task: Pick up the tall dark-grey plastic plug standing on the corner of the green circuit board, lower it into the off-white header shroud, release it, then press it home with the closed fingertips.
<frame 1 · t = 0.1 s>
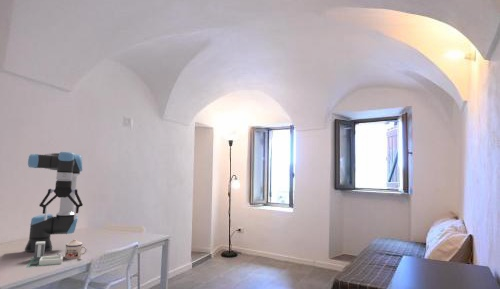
hand: (60, 219, 170), 28 cm above the table, fingers open, 13 cm apart
board: (45, 263, 182), on the table
plug: (38, 259, 185), point 1 cm above the table, touching board
teacup with lid: (75, 258, 194), on the table
header: (51, 264, 181), resting on board
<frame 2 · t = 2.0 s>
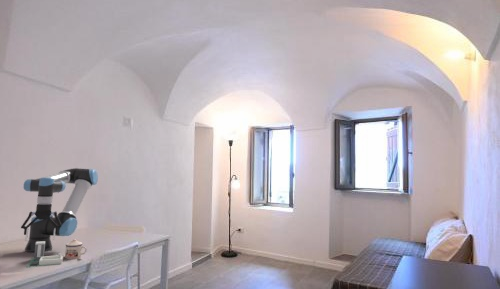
hand: (40, 240, 186), 13 cm above the table, fingers open, 13 cm apart
nothing on the table moved.
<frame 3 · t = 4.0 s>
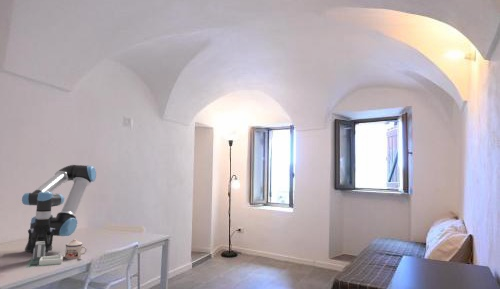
hand: (38, 258, 185), 2 cm above the table, fingers closed on plug, 4 cm apart
plug: (38, 259, 185), point 1 cm above the table, touching board, gripper
everything else where it was.
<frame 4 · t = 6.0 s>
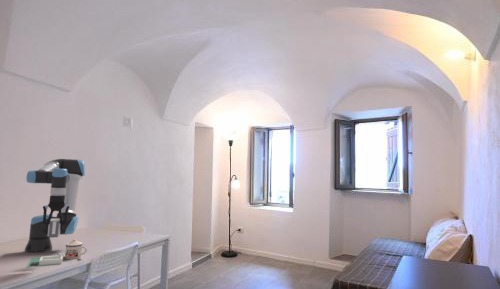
hand: (53, 235, 182), 16 cm above the table, fingers closed on plug, 4 cm apart
plug: (53, 236, 182), point 16 cm above the table, touching gripper
everything else where it was.
when the fingers open (4 cm above the table, at t = 8.0 s): plug drops 2 cm, resting on header.
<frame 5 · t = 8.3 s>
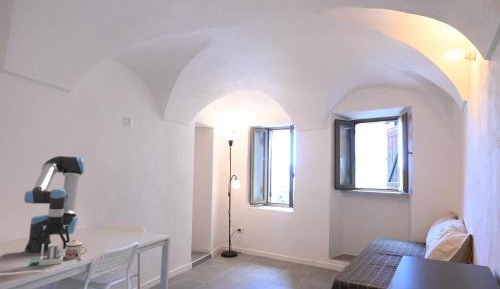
hand: (51, 255, 181), 5 cm above the table, fingers open, 9 cm apart
plug: (51, 262, 181), point 1 cm above the table, touching header
everything else where it was.
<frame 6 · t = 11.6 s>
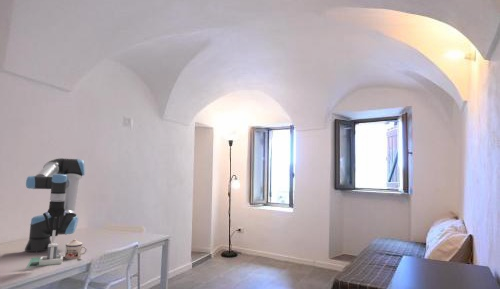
hand: (53, 241, 182), 13 cm above the table, fingers closed
nothing on the table moved.
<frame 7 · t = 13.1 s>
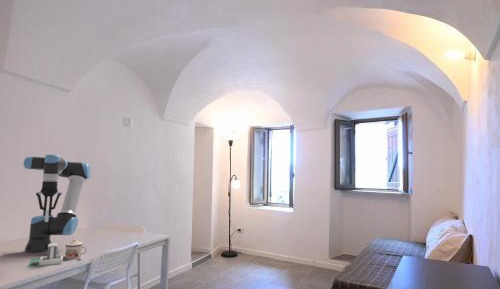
hand: (46, 221, 183), 24 cm above the table, fingers closed
nothing on the table moved.
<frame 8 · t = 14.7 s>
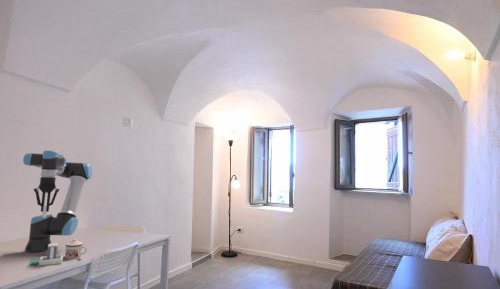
hand: (44, 217, 183), 26 cm above the table, fingers closed
nothing on the table moved.
at the end: plug 0.0 cm off-centre on the header, point 1.3 cm above the header's base; plug tilted 0°; the gripper is holding nothing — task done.
